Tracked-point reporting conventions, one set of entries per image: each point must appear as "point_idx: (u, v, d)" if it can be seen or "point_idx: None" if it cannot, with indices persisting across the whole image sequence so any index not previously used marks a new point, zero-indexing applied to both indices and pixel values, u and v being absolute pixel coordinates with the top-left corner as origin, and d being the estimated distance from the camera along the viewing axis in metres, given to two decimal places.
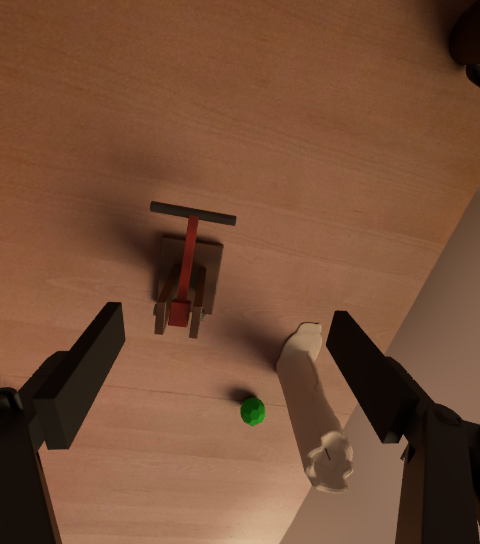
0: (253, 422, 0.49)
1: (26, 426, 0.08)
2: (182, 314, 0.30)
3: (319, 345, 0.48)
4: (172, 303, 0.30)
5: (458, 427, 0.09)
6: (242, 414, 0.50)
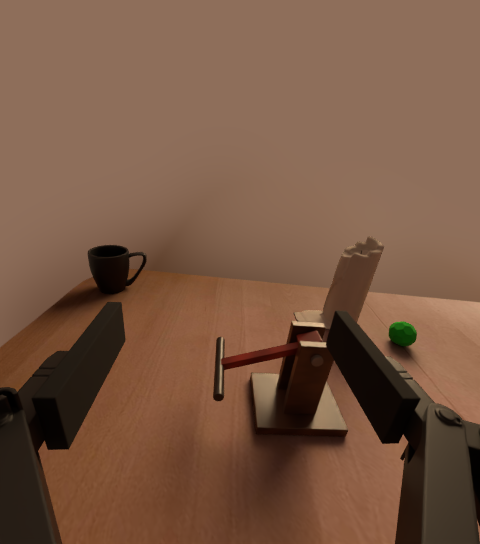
0: (408, 324, 0.52)
1: (26, 426, 0.08)
2: (307, 335, 0.33)
3: (311, 310, 0.61)
4: None
5: (458, 427, 0.09)
6: (410, 336, 0.51)
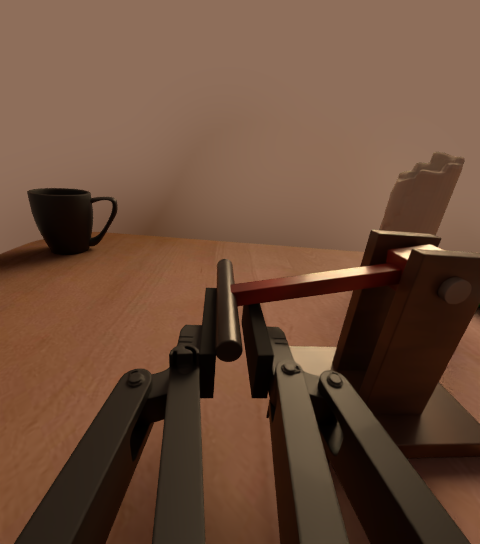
0: None
1: (198, 381, 0.10)
2: None
3: None
4: None
5: (298, 374, 0.11)
6: None
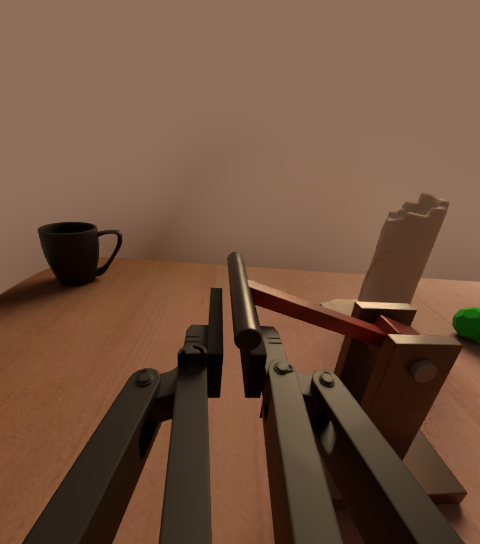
0: None
1: (206, 381, 0.10)
2: (400, 325, 0.18)
3: (341, 299, 0.47)
4: (399, 332, 0.17)
5: (291, 373, 0.11)
6: None
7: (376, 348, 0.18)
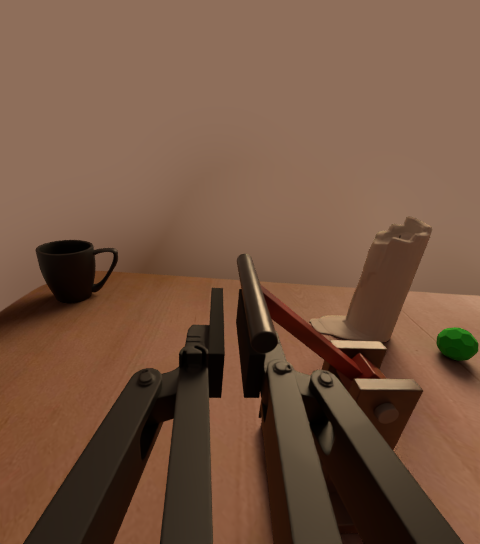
0: (465, 332, 0.39)
1: (207, 381, 0.10)
2: (374, 366, 0.20)
3: (330, 316, 0.48)
4: (374, 373, 0.18)
5: (290, 373, 0.11)
6: (471, 348, 0.38)
7: (349, 382, 0.19)
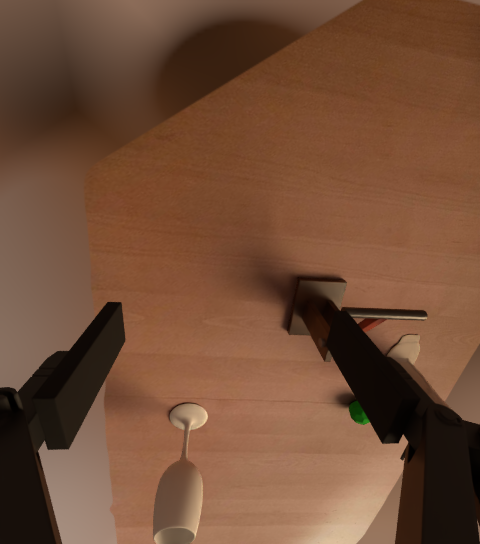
0: (364, 422, 0.58)
1: (26, 426, 0.08)
2: None
3: (417, 352, 0.56)
4: None
5: (458, 427, 0.09)
6: (353, 415, 0.59)
7: None
